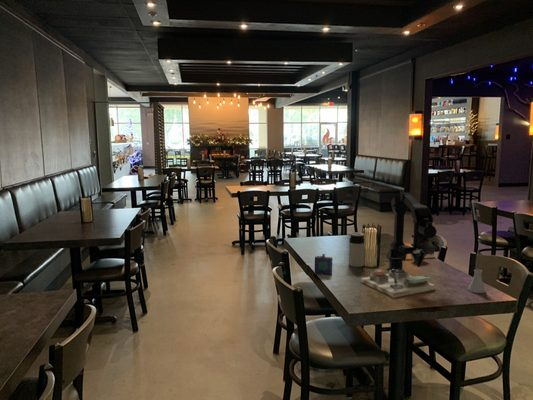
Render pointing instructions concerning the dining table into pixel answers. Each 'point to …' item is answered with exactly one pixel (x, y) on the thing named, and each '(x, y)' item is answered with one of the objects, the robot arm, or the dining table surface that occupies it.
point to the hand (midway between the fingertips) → (418, 266)
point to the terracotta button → (379, 273)
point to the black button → (398, 271)
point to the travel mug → (356, 249)
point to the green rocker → (416, 279)
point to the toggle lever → (394, 275)
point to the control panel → (399, 289)
